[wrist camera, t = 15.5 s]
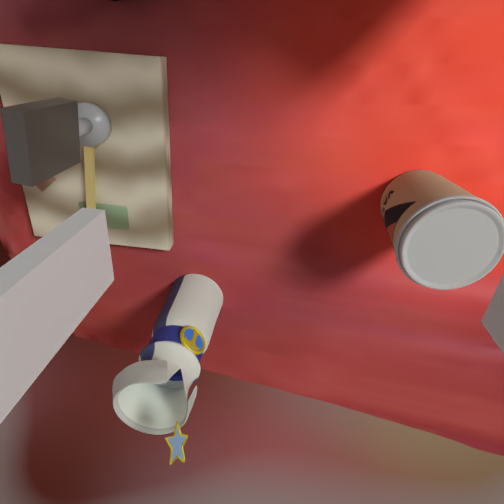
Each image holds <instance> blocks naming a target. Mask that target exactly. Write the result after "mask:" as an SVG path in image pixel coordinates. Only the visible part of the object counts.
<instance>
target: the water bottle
mask: <svg viewBox="0 0 504 504" xmlns="http://www.w3.org/2000/svg"><path fill="white" fill-rule="evenodd" d="M222 304H223V294H222V291H221V289H220V288H219V286H218V285H217V284H216V283H215V282H214V281H213V280H211V279H210V278H208V277H206V276H203V275H199V274H187V275H184V276H181V277H179V278H178V279H177V280H176V281H175V282H174V283H173V285H172V287H171V289H170V292H169V294H168V297H167V299H166V301H165V304H164V306H163V308H162V310H161V312H160V314H159V316H158V318H157V320H156V322H155V325H154V328H153V331H152V339H151V341H150V343H149V345H147V346H146V347H145V348H144V349H143V350H142V351H141V353H140V356H139V362H137V363H134V364H131V365H129V366H128V367H126V368H125V369H123V370H122V371H121V372H120V373H119V374H118V375H117V376H116V377H115V379H114V382H113V407H114V410H115V412H116V414H117V415H118V417H119V418H120V419H121V420H122V421H123V422H124V423H126V424H127V425H129V426H130V427H132V428H134V429H136V430H138V431H141V432H144V433H148V434H157V435H159V434H167V433H170V432H173V431H174V435H173V436H169V437H166V438H165V440H166V441H167V443H168V445H169V447H170V449H171V452H170V463H169V464H170V465H171V464H172V463H173V462H174V461H175V460H176V459H177V458H179V459H180V460H181V461H182V462H185V456H184V450H183V446H184V444H185V442H186V440H187V438H188V435H186V434H182V433H181V430H180V428H181V427H182V426H183V425H184V424H185V422H186V420H187V418H188V415H189V413H190V411H191V408H192V406H193V403H194V400H195V397H196V393H197V386H196V387H195V388H194V391H193V392H192V394H191V396H190V398H189V402H188V401H187V396H188V390H189V387H190V385H191V384H192V383H194V382H195V381H196V380H197V379H198V377H199V374H200V360H201V357H202V355H203V354H204V352H205V351H206V349H207V347H208V344H209V342H210V339H211V336H212V332H213V329H214V326H215V323H216V320H217V317H218V315H219V312H220V309H221V307H222Z"/></svg>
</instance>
